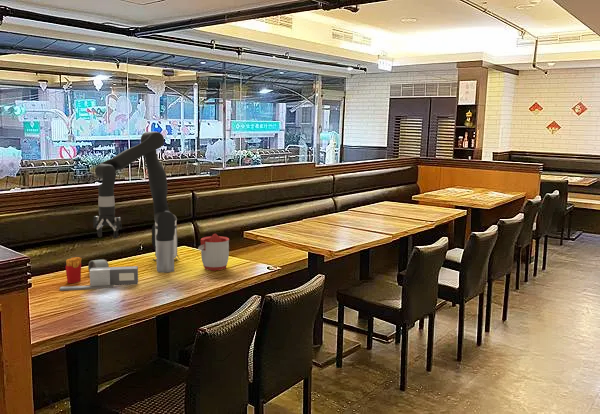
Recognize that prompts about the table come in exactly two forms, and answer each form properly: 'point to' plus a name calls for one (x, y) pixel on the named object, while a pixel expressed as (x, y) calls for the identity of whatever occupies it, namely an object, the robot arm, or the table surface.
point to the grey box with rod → (113, 278)
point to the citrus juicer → (214, 252)
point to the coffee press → (154, 230)
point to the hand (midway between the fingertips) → (107, 237)
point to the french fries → (73, 269)
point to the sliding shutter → (100, 277)
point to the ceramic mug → (97, 264)
